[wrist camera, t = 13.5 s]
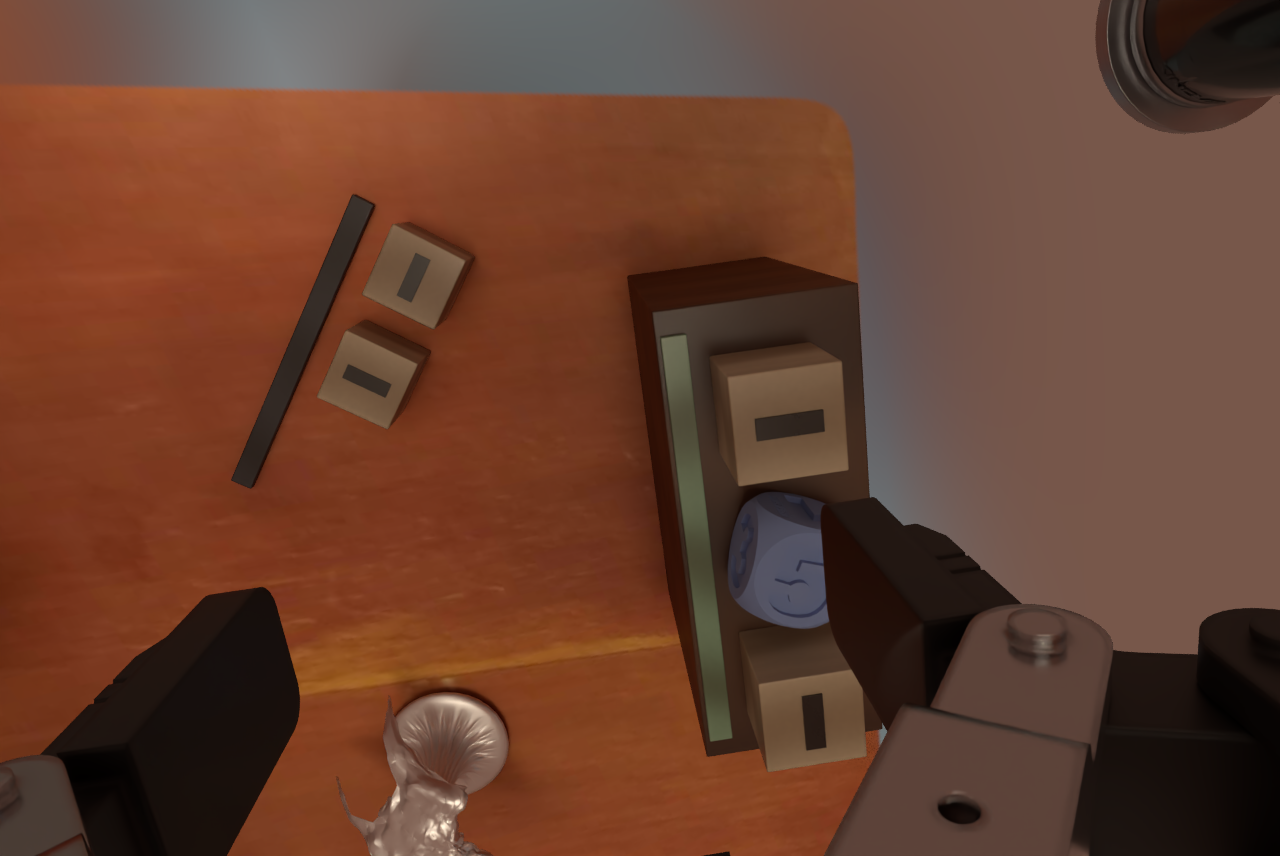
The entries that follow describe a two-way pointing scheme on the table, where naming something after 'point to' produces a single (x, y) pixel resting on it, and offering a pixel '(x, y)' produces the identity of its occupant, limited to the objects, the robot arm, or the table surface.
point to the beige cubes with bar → (364, 329)
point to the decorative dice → (779, 560)
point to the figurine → (434, 774)
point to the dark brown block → (753, 485)
